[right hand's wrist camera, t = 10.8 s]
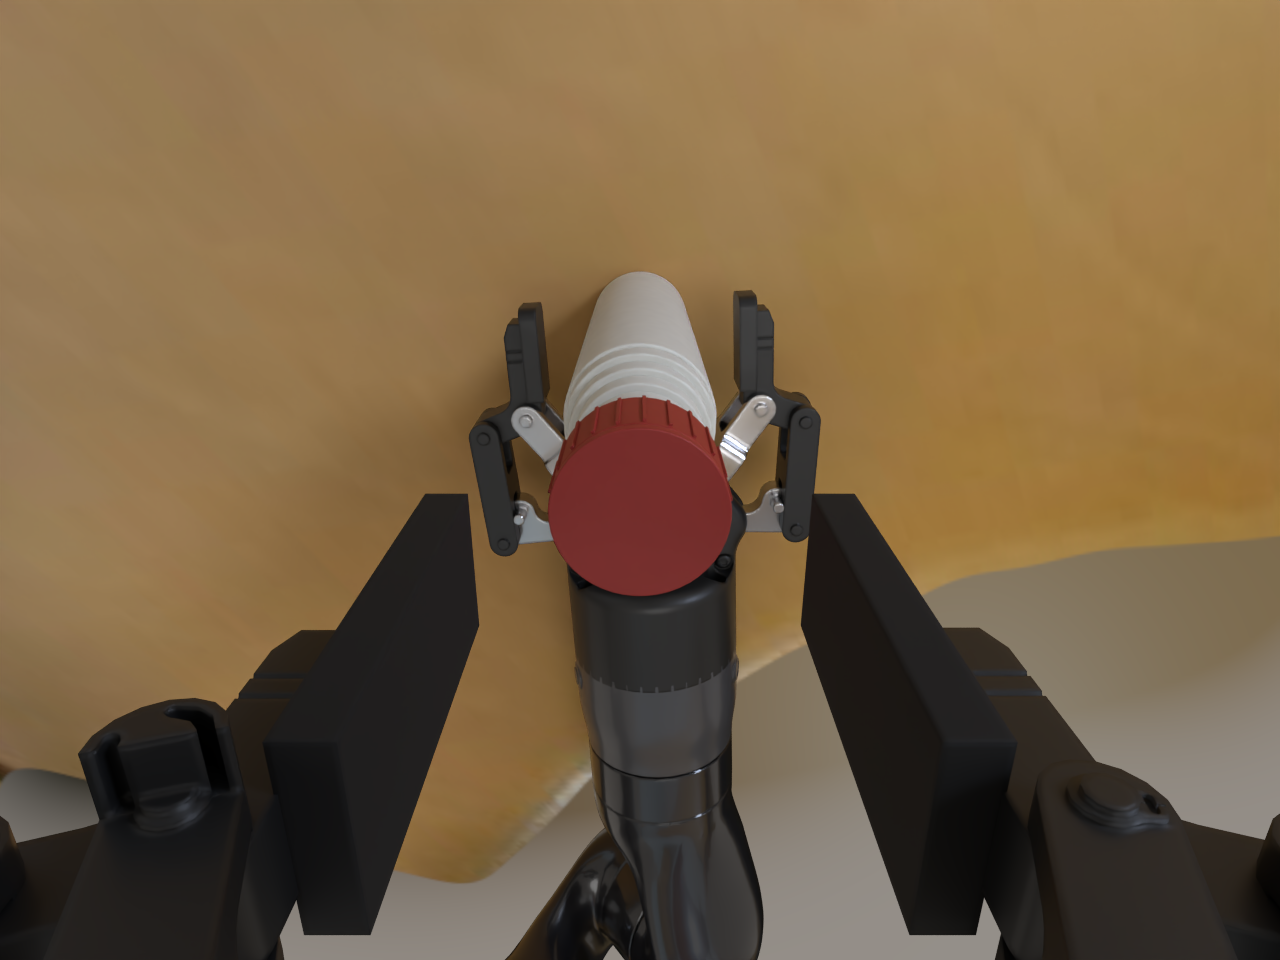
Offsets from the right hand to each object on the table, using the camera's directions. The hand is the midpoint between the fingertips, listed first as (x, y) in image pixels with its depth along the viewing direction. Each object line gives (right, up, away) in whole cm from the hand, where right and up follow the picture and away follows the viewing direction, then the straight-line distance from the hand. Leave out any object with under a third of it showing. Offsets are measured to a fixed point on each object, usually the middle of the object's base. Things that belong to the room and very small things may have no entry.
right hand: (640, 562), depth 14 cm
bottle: (0, +9, +23) cm, 25 cm away
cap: (0, +1, +2) cm, 2 cm away
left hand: (0, +9, +17) cm, 19 cm away
